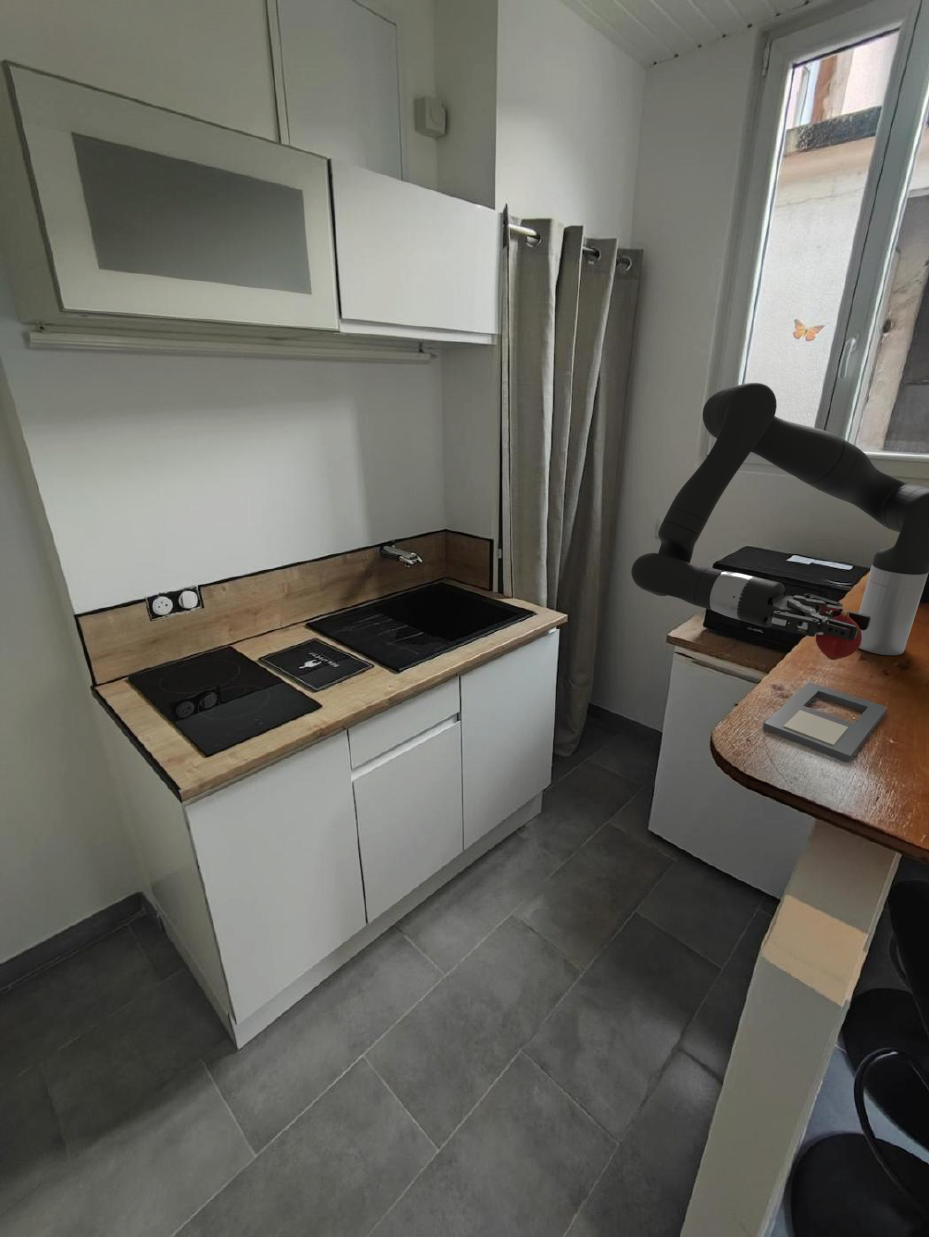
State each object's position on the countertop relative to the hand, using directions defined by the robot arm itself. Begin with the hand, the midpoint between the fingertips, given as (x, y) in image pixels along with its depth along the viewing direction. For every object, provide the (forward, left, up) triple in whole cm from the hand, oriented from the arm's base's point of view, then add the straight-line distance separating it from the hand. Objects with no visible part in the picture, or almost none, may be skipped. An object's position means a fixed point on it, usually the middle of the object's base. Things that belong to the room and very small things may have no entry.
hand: (862, 628), depth 83 cm
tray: (-3, -2, -18) cm, 18 cm away
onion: (0, -3, -6) cm, 7 cm away
